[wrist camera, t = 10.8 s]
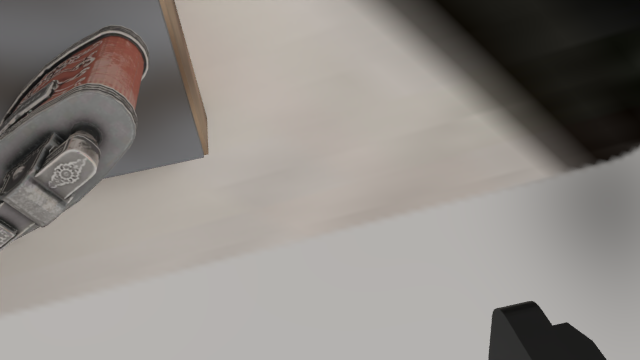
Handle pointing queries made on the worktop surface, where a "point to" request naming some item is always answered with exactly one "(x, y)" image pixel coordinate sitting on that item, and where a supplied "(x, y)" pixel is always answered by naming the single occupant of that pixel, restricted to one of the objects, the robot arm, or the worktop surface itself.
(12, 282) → the worktop surface
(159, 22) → the grey slab
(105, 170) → the lighter
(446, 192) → the worktop surface
